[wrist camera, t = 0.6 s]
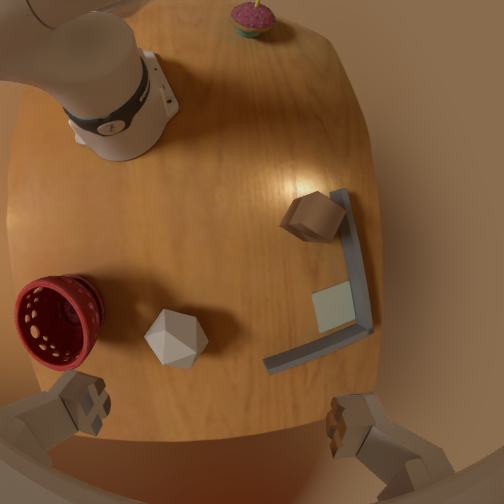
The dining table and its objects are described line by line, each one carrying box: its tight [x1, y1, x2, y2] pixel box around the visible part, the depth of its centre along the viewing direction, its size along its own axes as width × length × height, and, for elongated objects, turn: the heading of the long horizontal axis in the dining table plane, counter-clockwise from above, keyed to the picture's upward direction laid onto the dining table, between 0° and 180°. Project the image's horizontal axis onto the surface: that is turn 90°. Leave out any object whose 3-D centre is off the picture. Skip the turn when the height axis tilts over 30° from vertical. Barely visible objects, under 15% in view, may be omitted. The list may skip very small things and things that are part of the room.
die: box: [144, 309, 209, 369], centre depth 39 cm, size 8×9×10 cm
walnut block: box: [279, 191, 346, 243], centre depth 41 cm, size 5×5×10 cm
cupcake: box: [230, 0, 276, 38], centre depth 36 cm, size 9×8×12 cm
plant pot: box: [15, 274, 105, 371], centre depth 34 cm, size 13×13×12 cm
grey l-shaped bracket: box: [263, 188, 374, 375], centre depth 44 cm, size 26×20×4 cm
